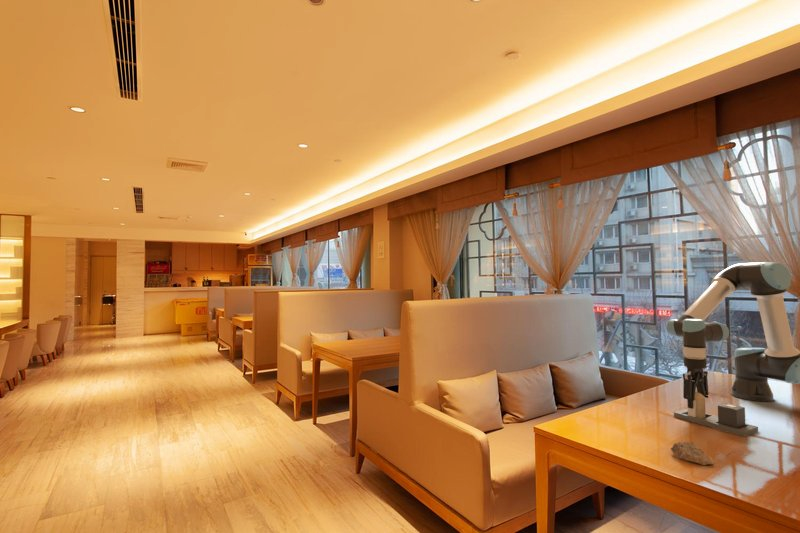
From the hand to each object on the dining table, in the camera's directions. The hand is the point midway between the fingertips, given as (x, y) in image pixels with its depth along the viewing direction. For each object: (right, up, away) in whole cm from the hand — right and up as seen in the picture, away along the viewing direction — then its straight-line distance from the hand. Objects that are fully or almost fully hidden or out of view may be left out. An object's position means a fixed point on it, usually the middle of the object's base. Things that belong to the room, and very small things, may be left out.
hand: (696, 414), depth 164 cm
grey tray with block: (+3, -2, -5) cm, 6 cm away
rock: (-27, -2, -35) cm, 44 cm away
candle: (0, -1, 0) cm, 1 cm away
